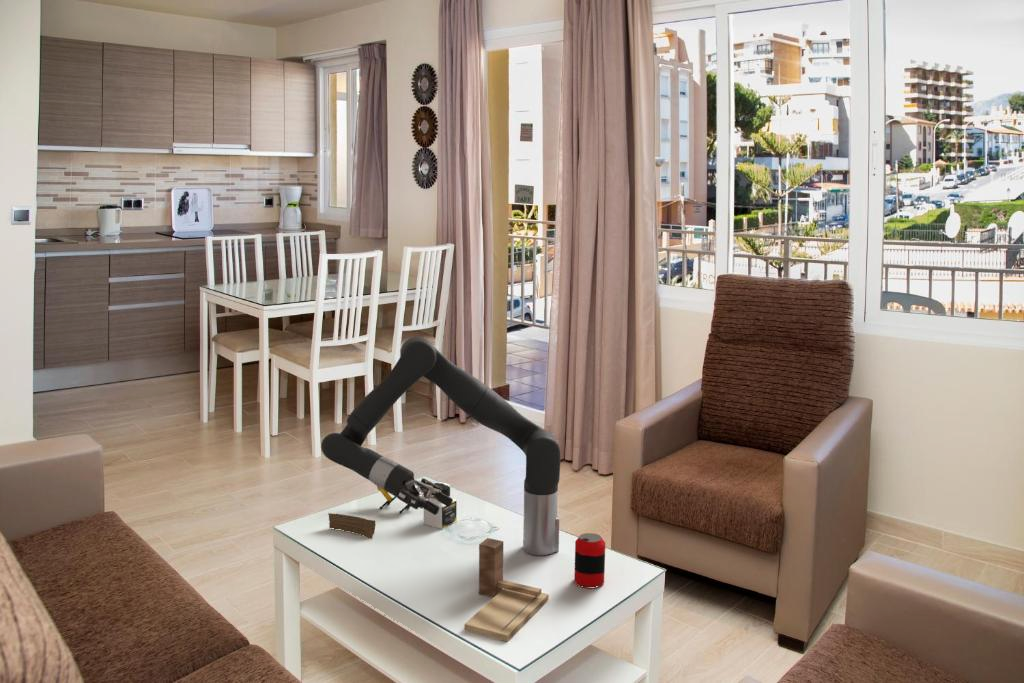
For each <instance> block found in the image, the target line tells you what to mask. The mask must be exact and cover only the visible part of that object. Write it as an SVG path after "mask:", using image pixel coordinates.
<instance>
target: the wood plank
mask: <svg viewBox="0 0 1024 683" xmlns="http://www.w3.org/2000/svg"><path fill="white" fill-rule="evenodd" d="M327 514H328V522H329V523H328V525H329V526H328V528H334V529H333V530H335V529H341V530H344V531H343V532H345V531H350V532H349V533H352V532H354V533H358V534H361V535H360V536H362V535H364V536H365V537H364V536H363V537H364V538H367V539H371V540H373V536H374V535H375V532H376V531H375V530H376V520H373V519H367V518H363V517H359V516H354V515H348V514H340V513H330V512H328V513H327ZM341 530H340V531H341ZM354 533H353V534H354Z"/></svg>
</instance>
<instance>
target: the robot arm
mask: <svg viewBox="0 0 1024 683" xmlns="http://www.w3.org/2000/svg"><path fill="white" fill-rule="evenodd" d="M399 353H400V354H399V358H398V360H397V362H396V363H395V365H394V366H393V368H392V369H391V371H390V372H389V373H388V374H387V376H386V377H385V378H384V379H383V380H382V381H381V382H380V383H379V384H377V385H376V386H375V387H374V388H373V389H372V390H371V391H370V392H369V393H368V394H367V395H365V397H364V398H363V399H362V400H360V401H359V403H358V405H356V407H355V408H354V409H353V410H352V411H351V412H350V414H349V415H348V417H347V419H346V425H345V427H344V428H343V430H342V431H341V432H340V433H339V432H332V433H329V434H327V435H326V436H325V437H324V438H323V439H322V441H321V444H320V445H321V446H320V448H321V452H322V454H323V455H324V456H325V458H326V459H328V460H329V461H331V462H333V463H336V464H338V465H340V466H343V467H344V468H346V469H349V470H351V471H353V472H355V473H357V474H358V475H360V476H361V477H363V478H364V479H366V480H368V481H370V482H371V483H373V484H374V485H375V486H376V487H377V486H378V487H380V488H382V489H383V490H385V491H387V492H388V494H389V495H392V496H393V497H396V499H398V500H400V501H401V502H403V503H404V504H406V505H407V504H408V505H409V506H411V507H410V508H413V509H414V510H418V509H421V510H424V509H425V510H427V511H429V512H431V513H432V514H434V515H436V514H437V513H438V511H439V509H440V507H439V506H437V505H436V504H434V503H432V502H430V501H429V500H428V499H430V498H432V499H436V500H437V501H439V502H441V503H443V504H444V505H446V506H448V507H449V506H451V504H452V502H453V499H454V498H453V499H452V497H451V496H450V497H449V496H447V495H445V494H443V493H442V492H441V490H442V488H441V487H439V486H438V485H436V484H434V483H435V482H434V483H433V482H432V481H430V480H428V479H426V478H421V480H419V481H418V480H416V479H415V473H414V471H412V470H410V469H409V468H407V467H406V466H403V465H401V464H400V463H398V462H396V461H394V460H392V458H391V459H390V458H388V457H385V456H383V455H382V454H379V453H378V452H376V451H374V450H372V449H370V448H367V447H364V446H362V445H363V444H364V442H365V441H366V438H367V437H368V435H369V433H371V431H373V429H374V428H375V427H376V426H377V425H378V424H379V423H380V422H381V420H382V419H383V418H384V417H385V416H386V414H387V413H388V412H389V411H390V410H391V409H392V407H393V406H394V405H395V404H396V403H397V401H398V400H399V399H400V398H401V397H402V395H404V394H405V393H406V392H407V391H408V390H409V389H410V388H411V387H412V386H413V385H414V384H416V382H418V381H419V380H420V379H421V378H422V377H424V378H426V379H427V380H428V381H430V382H432V384H434V385H436V387H438V388H439V389H440V390H441V391H442V392H443V393H444V394H445V395H446V396H447V397H448V399H450V400H451V401H452V403H453V404H455V405H456V406H457V407H458V408H459V409H460V410H462V411H463V412H464V413H465V414H467V415H468V416H469V417H470V418H472V419H473V420H475V421H476V422H477V423H479V424H480V425H482V426H483V427H485V428H487V429H490V430H492V431H495V432H496V433H499V434H501V435H503V436H504V437H506V438H508V439H509V440H510V441H511V442H513V444H515V445H516V446H517V447H518V448H519V449H520V450H521V451H522V452H523V453H524V455H525V478H524V480H523V528H522V529H523V533H522V534H523V537H522V538H523V539H522V546H523V547H522V549H523V551H524V552H525V553H527V554H529V555H532V556H547V555H548V554H549V555H552V554H554V553H556V552H559V551H560V550H559V549H560V548H559V546H560V518H559V517H558V501H559V500H558V499H559V498H558V495H559V490H558V489H559V483H560V473H561V448H560V446H559V443H558V442H557V439H556V438H555V437H554V435H553V434H552V433H551V432H549V431H548V430H547V429H545V428H543V427H542V426H540V425H538V424H536V423H535V422H533V421H531V420H530V419H528V418H527V417H525V416H524V415H523V414H521V413H520V412H519V411H517V409H516V408H515V407H514V406H512V405H511V404H510V403H509V402H508V401H506V400H505V399H504V398H503V397H502V396H501V395H500V394H498V393H497V392H496V391H495V390H493V389H492V388H491V387H489V386H488V385H486V384H485V383H484V382H482V381H481V380H479V379H478V378H477V377H475V376H473V375H472V374H470V373H469V372H467V371H465V370H463V369H462V368H460V367H459V366H457V365H456V364H455V363H453V362H452V361H451V360H449V359H448V357H446V356H445V355H444V354H443V353H441V351H439V349H437V348H436V346H434V345H433V344H432V342H430V341H429V340H428V339H427V338H424V337H419V336H414V337H410V338H408V339H407V340H405V341H404V343H403V344H402V345H401V349H400V352H399ZM433 487H434V488H433ZM435 488H436V489H435ZM431 494H432V495H431ZM426 500H427V501H426ZM411 501H412V502H413V503H414V504H413V503H412V502H411Z"/></svg>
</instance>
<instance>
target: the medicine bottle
mask: <svg viewBox="0 0 1024 683" xmlns="http://www.w3.org/2000/svg"><path fill="white" fill-rule="evenodd" d="M434 484H436V485H438V486H439V487H441V488H442V490H441V492H442V493H443V494H445V495H447V496H449V497H451V486H450V484H448V483H446V482H434ZM433 488H434V487H433ZM435 489H436V488H435ZM431 495H432V494H431ZM451 498H452V497H451ZM452 499H453V502H452V504H451V506H449V507H448V506H446V505H444V504H443V503H441V502H439V501H437V500H436V499H432V498H430V499H426V501H427V500H429V501H430V502H432V503H434V504H436V505H437V506H439V507H440V509H439V511H438V513H437V514H436V515H434V514H432V513H431V512H429V511H427V510H425V509H424V508H423V525H426V526H429V527H434V528H436V529H437V528H438V529H441V530H444V529H445V527H446V528H447V527H449V526H451V525H453V524H454V523H453V522H455V521H456V522H457V520H458V519H457V517H458V516H457V510H458V509H457V508H458V507H457V505H458V504H457V499H455V498H452ZM456 522H455V523H456ZM452 523H453V524H452ZM450 524H451V525H450ZM443 528H444V529H443Z"/></svg>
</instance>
